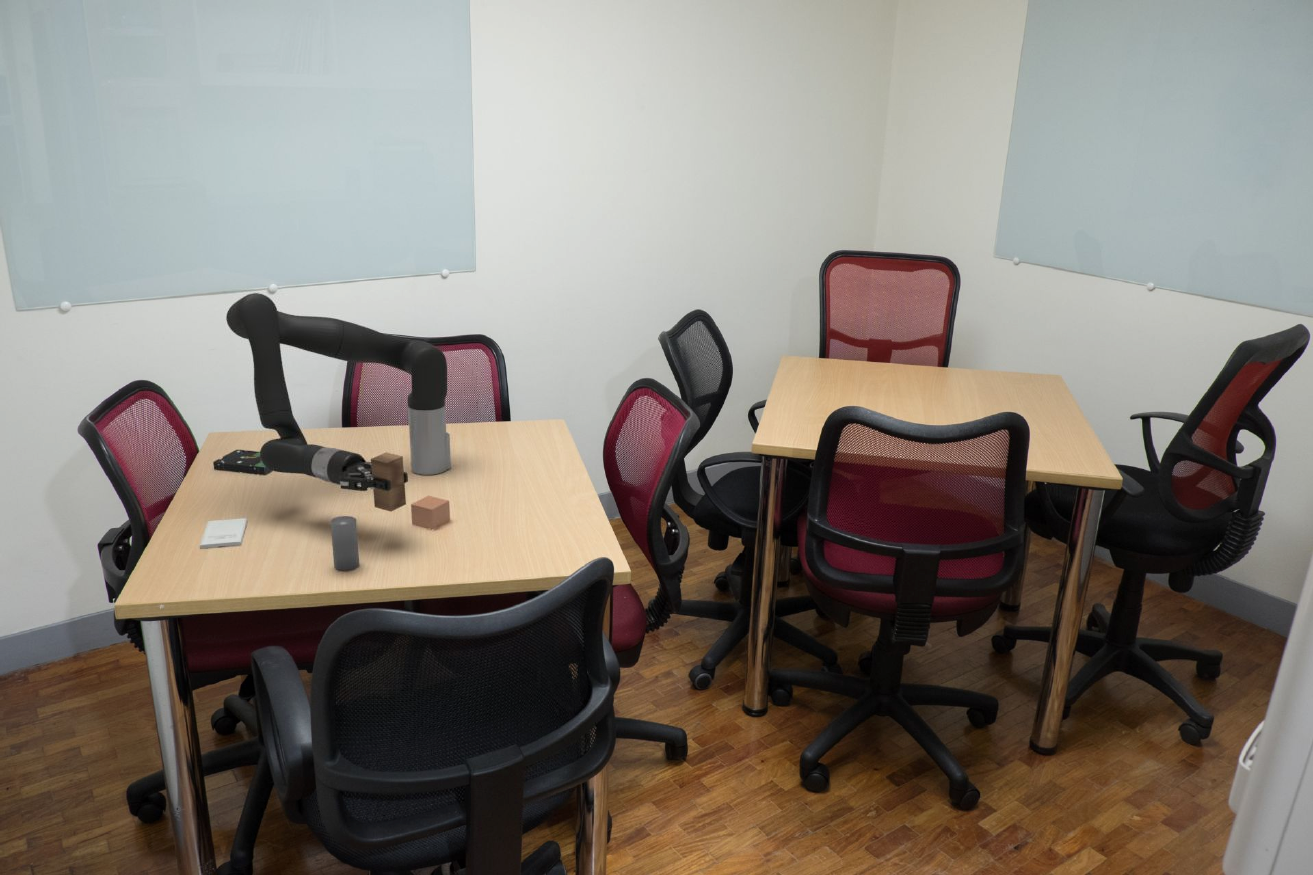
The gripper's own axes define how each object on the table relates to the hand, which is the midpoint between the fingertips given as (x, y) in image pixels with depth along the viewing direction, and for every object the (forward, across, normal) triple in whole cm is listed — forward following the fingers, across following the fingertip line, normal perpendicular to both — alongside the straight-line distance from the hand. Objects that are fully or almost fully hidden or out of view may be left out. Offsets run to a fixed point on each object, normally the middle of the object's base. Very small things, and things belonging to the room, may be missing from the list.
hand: (398, 481), depth 211 cm
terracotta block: (-3, +13, +15) cm, 20 cm away
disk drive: (-65, +16, +15) cm, 69 cm away
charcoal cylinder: (-3, -14, +14) cm, 20 cm away
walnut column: (-3, 0, +6) cm, 7 cm away
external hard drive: (-36, -16, +15) cm, 42 cm away
